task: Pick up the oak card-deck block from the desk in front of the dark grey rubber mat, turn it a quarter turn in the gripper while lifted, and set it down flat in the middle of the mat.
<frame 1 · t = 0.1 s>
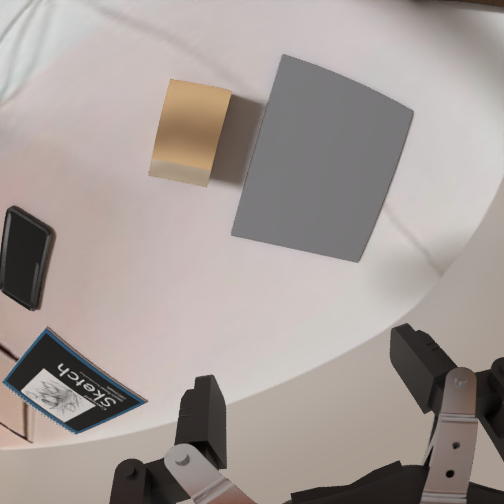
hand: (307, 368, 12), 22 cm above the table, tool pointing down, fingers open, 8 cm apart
phone: (24, 259, 32), on the table
sketchbook: (63, 389, 44), on the table
mat: (327, 165, 30), on the table
deck block: (192, 130, 27), on the table
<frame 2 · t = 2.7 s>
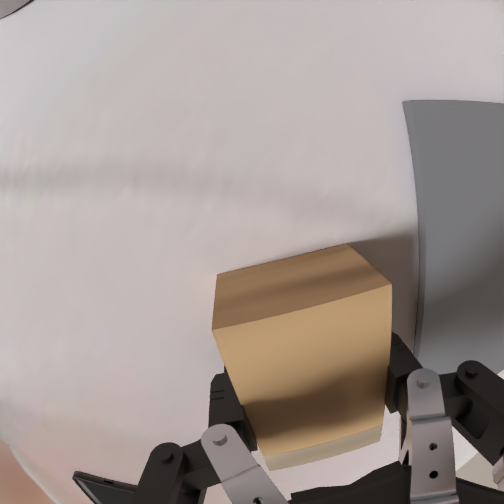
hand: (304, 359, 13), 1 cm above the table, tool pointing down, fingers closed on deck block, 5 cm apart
phone: (127, 501, 21), on the table
deck block: (299, 345, 14), on the table, touching gripper
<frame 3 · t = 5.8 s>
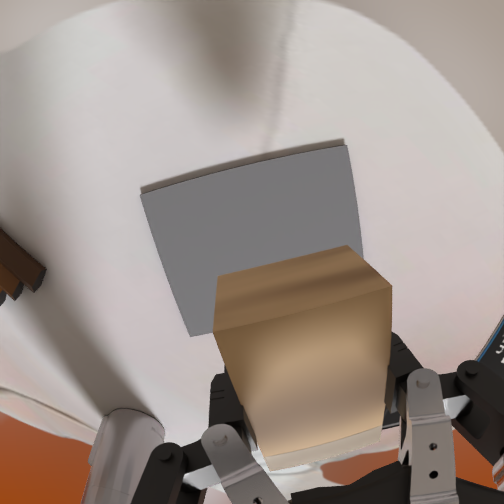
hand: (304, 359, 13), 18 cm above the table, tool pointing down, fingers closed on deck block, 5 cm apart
phone: (414, 404, 41), on the table
mat: (262, 246, 29), on the table
deck block: (300, 345, 14), point 16 cm above the table, touching gripper
when the fingers open (3 cm above the table, at t = 9.0 s): deck block drops 1 cm, resting on mat.
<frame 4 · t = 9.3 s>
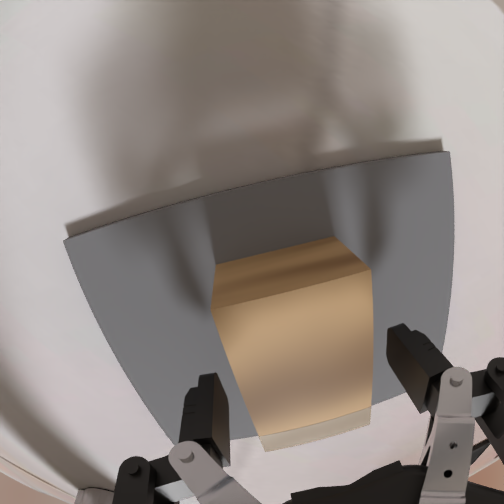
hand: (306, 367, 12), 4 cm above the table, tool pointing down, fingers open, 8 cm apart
phone: (448, 463, 28), on the table
mat: (293, 331, 15), on the table
deck block: (292, 331, 15), point 1 cm above the table, touching mat
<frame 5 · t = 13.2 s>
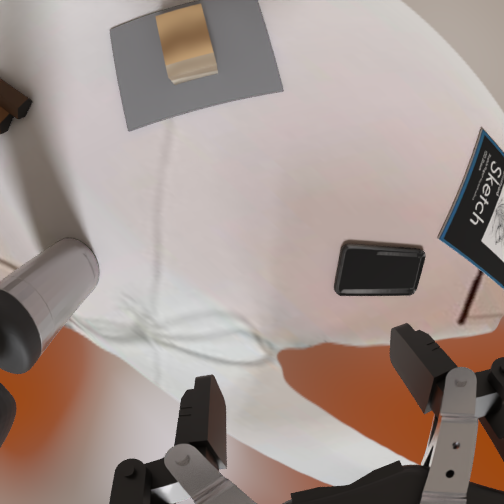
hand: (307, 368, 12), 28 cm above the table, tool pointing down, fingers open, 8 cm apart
phone: (380, 269, 43), on the table
sketchbook: (499, 220, 42), on the table
mat: (191, 53, 31), on the table
deck block: (189, 48, 30), point 1 cm above the table, touching mat
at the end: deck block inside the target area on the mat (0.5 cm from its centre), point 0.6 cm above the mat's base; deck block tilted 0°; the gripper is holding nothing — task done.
